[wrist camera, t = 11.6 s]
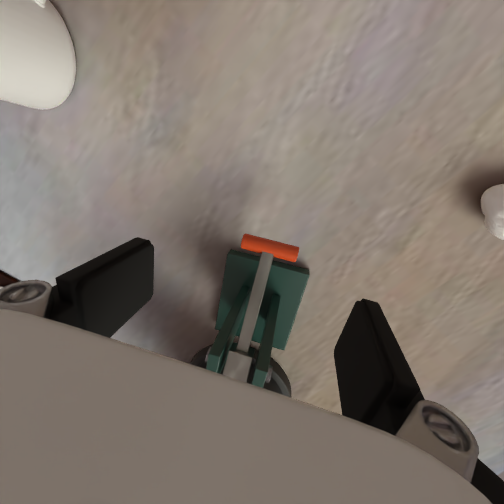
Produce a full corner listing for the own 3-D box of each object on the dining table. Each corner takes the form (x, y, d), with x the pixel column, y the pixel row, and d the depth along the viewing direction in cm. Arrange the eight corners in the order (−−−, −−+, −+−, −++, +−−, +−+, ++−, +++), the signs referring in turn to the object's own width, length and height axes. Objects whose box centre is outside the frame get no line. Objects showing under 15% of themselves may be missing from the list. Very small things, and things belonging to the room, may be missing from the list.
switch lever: (246, 235, 23) (243, 231, 21) (298, 248, 23) (300, 246, 20) (211, 365, 23) (203, 376, 20) (263, 382, 22) (261, 396, 20)
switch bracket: (230, 248, 30) (183, 307, 18) (309, 269, 28) (313, 346, 17) (218, 323, 34) (174, 407, 23) (285, 343, 33) (274, 443, 22)
